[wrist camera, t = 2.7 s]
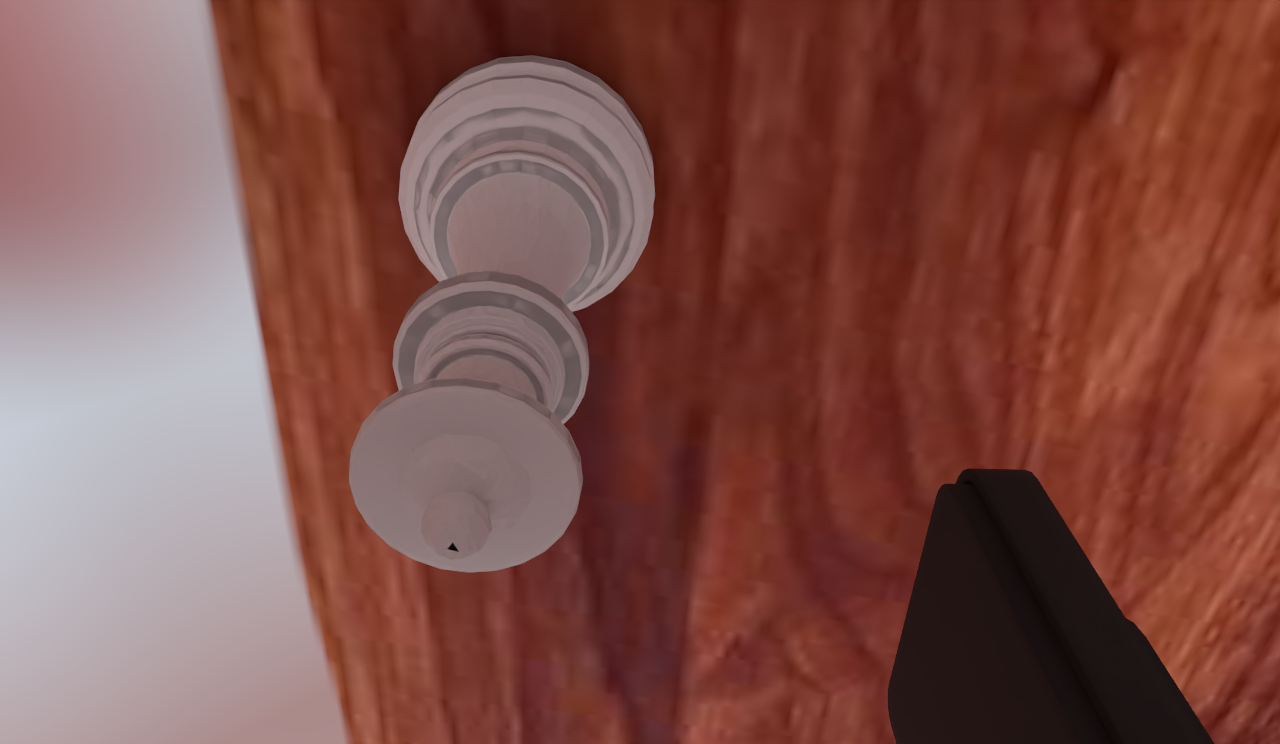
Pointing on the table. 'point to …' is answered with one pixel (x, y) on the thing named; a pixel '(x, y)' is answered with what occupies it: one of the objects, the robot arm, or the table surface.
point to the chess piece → (501, 310)
